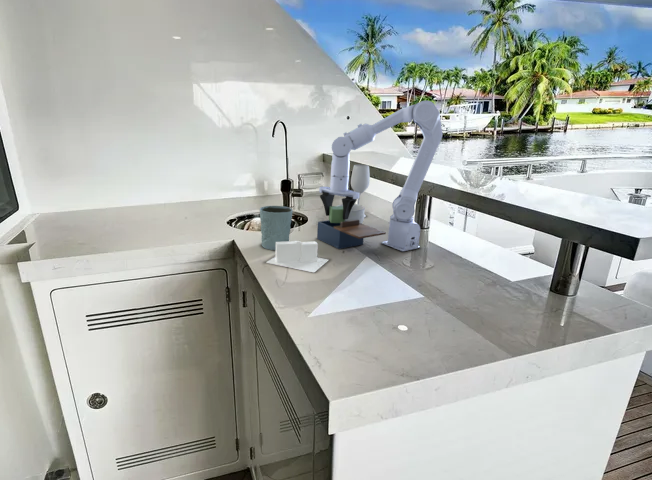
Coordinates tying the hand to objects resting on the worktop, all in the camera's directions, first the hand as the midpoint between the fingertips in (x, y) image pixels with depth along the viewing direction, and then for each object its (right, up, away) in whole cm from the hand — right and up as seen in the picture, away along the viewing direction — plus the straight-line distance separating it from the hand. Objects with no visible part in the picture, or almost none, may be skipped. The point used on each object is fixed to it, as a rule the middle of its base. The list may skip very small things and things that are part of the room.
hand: (336, 217), depth 126 cm
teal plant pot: (-20, -10, -5) cm, 23 cm away
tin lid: (+6, -5, -9) cm, 11 cm away
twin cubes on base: (-13, -14, -17) cm, 26 cm away
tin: (+1, -8, +1) cm, 8 cm away
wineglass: (+13, +4, +35) cm, 38 cm away
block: (0, -1, 0) cm, 1 cm away
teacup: (+7, -2, +19) cm, 21 cm away
